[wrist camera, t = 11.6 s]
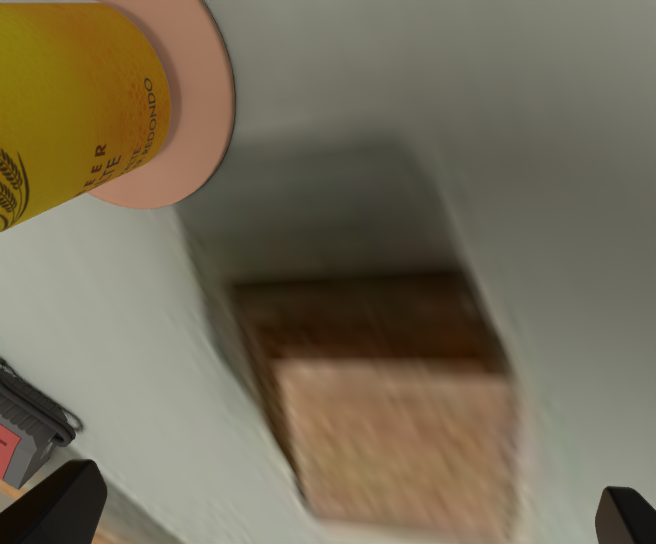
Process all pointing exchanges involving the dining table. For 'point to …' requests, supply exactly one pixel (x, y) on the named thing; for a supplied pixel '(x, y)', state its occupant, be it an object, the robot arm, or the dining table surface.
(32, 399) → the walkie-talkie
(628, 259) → the dining table surface
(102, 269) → the dining table surface
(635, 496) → the robot arm
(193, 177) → the peach dome cap
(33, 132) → the beer can
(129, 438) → the dining table surface
